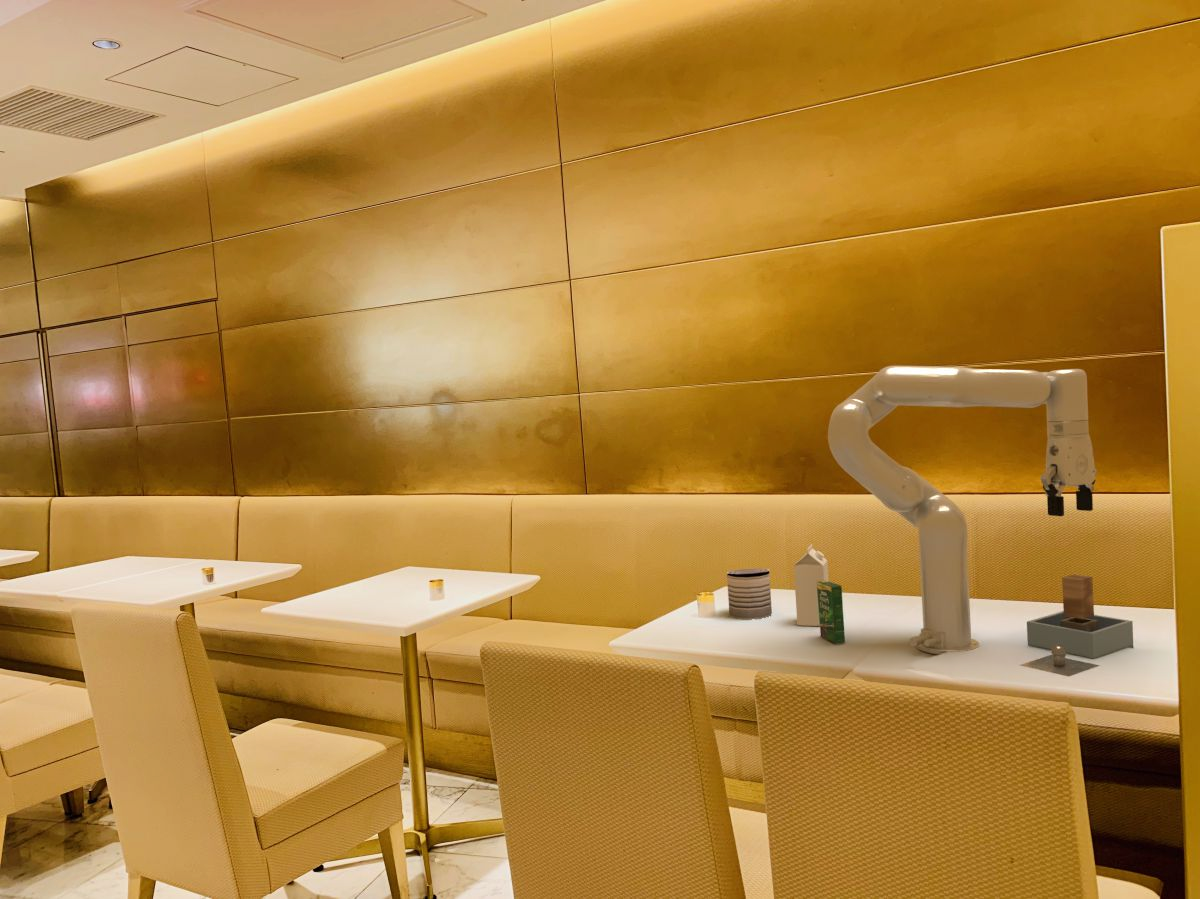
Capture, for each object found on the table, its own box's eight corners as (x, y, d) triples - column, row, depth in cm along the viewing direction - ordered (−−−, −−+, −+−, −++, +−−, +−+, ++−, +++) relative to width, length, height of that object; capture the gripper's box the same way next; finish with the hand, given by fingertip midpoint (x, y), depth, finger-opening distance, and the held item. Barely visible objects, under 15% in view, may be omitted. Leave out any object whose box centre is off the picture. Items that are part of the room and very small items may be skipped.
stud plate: (1069, 681, 167) (1067, 655, 167) (1019, 670, 176) (1018, 645, 175) (1100, 670, 172) (1099, 645, 172) (1050, 659, 181) (1049, 635, 181)
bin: (1093, 664, 176) (1092, 633, 176) (1027, 650, 188) (1026, 621, 188) (1133, 650, 183) (1132, 621, 183) (1067, 637, 195) (1066, 610, 195)
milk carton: (797, 626, 221) (792, 549, 220) (802, 619, 227) (797, 544, 226) (826, 627, 218) (822, 549, 217) (830, 619, 224) (826, 544, 224)
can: (726, 620, 231) (723, 574, 231) (730, 609, 242) (728, 565, 242) (771, 619, 229) (769, 573, 228) (773, 609, 240) (771, 564, 239)
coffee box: (818, 636, 210) (815, 580, 209) (830, 634, 211) (827, 579, 210) (833, 644, 202) (830, 586, 202) (845, 643, 203) (842, 585, 202)
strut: (1084, 649, 182) (1081, 580, 182) (1061, 644, 187) (1058, 577, 186) (1099, 644, 185) (1096, 576, 184) (1075, 639, 189) (1072, 573, 188)
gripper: (1059, 432, 177) (1062, 519, 178) (1110, 427, 185) (1113, 509, 186) (1024, 432, 183) (1027, 516, 184) (1075, 427, 192) (1078, 507, 193)
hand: (1070, 513), depth 185 cm, fingers open, 9 cm apart
